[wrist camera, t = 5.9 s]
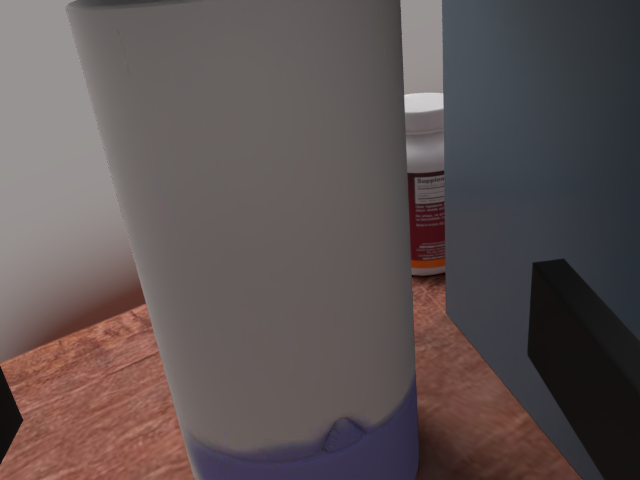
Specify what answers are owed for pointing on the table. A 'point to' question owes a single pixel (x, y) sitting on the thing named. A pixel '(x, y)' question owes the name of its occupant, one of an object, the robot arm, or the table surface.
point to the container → (267, 224)
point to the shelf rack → (539, 174)
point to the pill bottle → (426, 181)
